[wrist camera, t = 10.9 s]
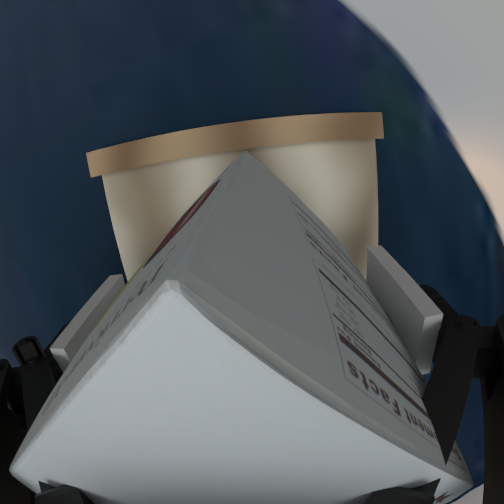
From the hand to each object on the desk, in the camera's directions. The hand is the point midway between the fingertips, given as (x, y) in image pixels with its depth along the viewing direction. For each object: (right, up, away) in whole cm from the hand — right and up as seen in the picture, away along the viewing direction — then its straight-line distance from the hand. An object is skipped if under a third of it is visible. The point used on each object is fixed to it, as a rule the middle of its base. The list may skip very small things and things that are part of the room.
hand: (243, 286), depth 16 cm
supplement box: (0, +2, +5) cm, 5 cm away
